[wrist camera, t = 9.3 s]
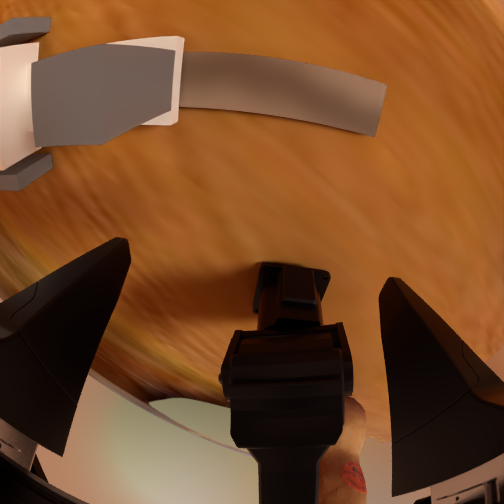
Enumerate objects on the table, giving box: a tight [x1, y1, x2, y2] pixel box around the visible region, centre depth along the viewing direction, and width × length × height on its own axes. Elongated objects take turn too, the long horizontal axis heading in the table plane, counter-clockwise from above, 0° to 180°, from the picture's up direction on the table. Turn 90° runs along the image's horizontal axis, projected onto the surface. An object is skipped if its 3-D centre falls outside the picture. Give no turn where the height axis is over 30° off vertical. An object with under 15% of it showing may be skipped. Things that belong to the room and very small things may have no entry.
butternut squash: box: [318, 396, 367, 504], centre depth 30 cm, size 14×13×25 cm
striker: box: [0, 36, 185, 171], centre depth 12 cm, size 10×15×10 cm, turn 83°
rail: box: [179, 52, 387, 137], centre depth 16 cm, size 4×16×1 cm, turn 83°
